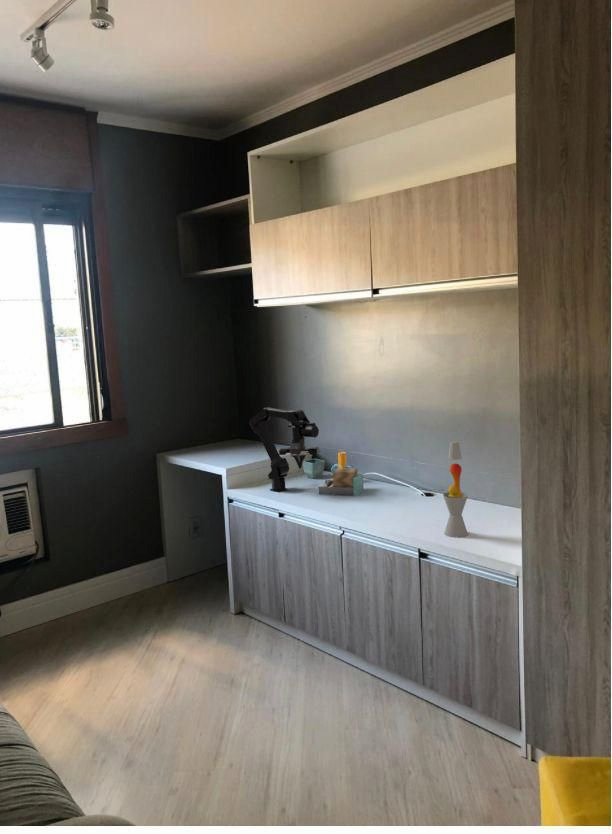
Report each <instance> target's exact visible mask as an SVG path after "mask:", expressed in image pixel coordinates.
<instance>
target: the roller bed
mask: <svg viewBox="0 0 612 834" xmlns="http://www.w3.org/2000/svg"><path fill="white" fill-rule="evenodd" d="M321 494H336V495H335V496H354V487H333V479H331V480H330V479H325V480H324V484H323V485H322V486H318V495H321Z"/></svg>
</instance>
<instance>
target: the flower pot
mask: <svg viewBox="0 0 612 834" xmlns="http://www.w3.org/2000/svg"><path fill="white" fill-rule="evenodd" d="M325 463H326V462H325V460H323V459H318V458H311V459H307V460H305V459H304V461H303V465H302V469H303V471H304V474H305V475H306V477H307V478H310V479H313V478H314V479H318V478H321V477H322V475H323V473H324V470H325Z"/></svg>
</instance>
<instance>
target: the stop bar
mask: <svg viewBox="0 0 612 834" xmlns="http://www.w3.org/2000/svg"><path fill="white" fill-rule="evenodd" d="M353 486H354V495H353V496H355V497H358V496H359V495H360V494H361V492H362V491H363V490H364V472H361V471H359V472H357V475H356V476H355V478H354V479H353Z"/></svg>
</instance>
